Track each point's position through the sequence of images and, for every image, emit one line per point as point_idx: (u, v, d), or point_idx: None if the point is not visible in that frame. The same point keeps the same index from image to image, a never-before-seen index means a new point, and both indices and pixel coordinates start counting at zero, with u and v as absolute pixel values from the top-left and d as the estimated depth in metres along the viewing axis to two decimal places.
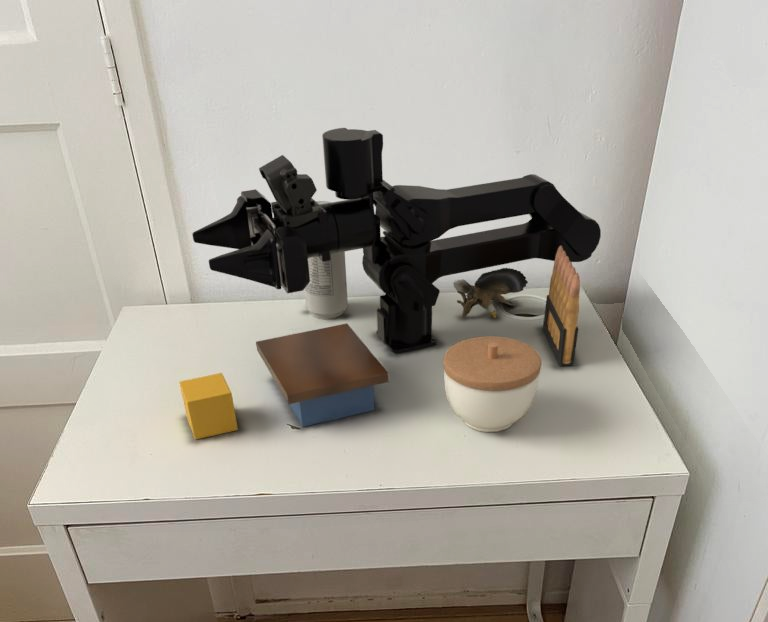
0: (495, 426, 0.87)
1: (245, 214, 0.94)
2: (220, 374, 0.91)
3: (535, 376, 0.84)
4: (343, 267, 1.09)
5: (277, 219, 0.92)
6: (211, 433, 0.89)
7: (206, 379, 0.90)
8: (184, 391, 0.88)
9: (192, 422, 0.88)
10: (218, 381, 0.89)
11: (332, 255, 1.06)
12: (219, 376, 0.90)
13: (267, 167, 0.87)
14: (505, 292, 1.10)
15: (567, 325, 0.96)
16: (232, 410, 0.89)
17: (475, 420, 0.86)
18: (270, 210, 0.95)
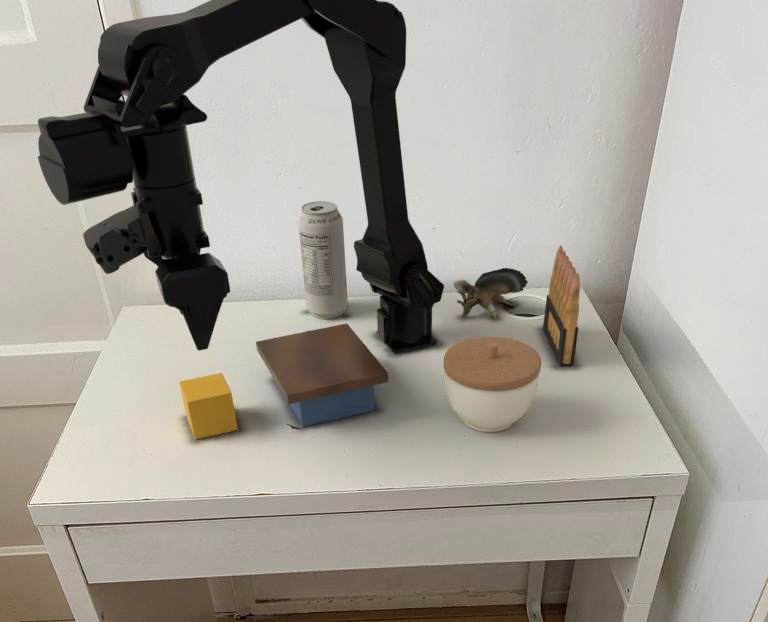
0: (495, 426, 0.87)
1: None
2: (220, 374, 0.91)
3: (535, 376, 0.84)
4: (343, 267, 1.09)
5: None
6: (211, 433, 0.89)
7: (206, 379, 0.90)
8: (184, 391, 0.88)
9: (192, 422, 0.88)
10: (218, 381, 0.89)
11: (332, 255, 1.06)
12: (219, 376, 0.90)
13: None
14: (505, 292, 1.10)
15: (567, 325, 0.96)
16: (232, 410, 0.89)
17: (475, 420, 0.86)
18: None
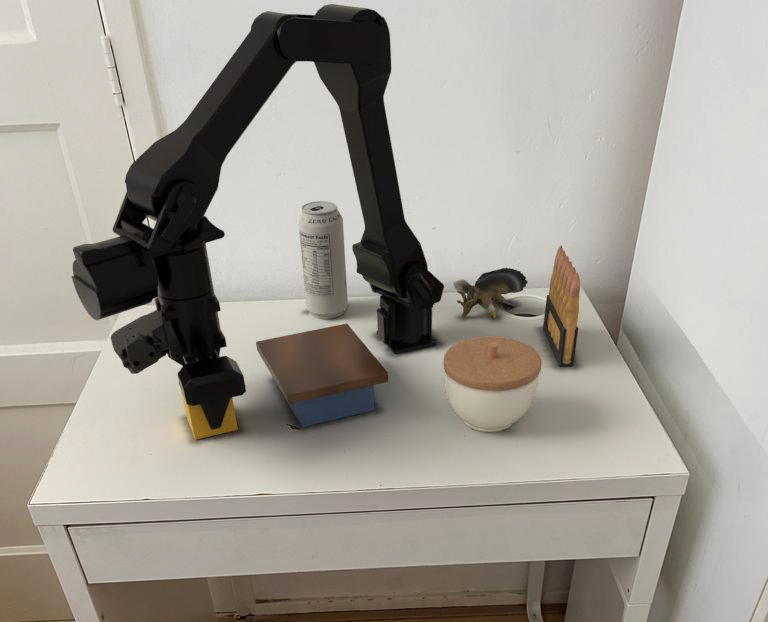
0: (495, 426, 0.87)
1: None
2: None
3: (535, 376, 0.84)
4: (343, 267, 1.09)
5: None
6: (211, 433, 0.89)
7: None
8: None
9: (192, 422, 0.88)
10: None
11: (332, 255, 1.06)
12: None
13: None
14: (505, 292, 1.10)
15: (567, 325, 0.96)
16: (232, 410, 0.89)
17: (475, 420, 0.86)
18: None
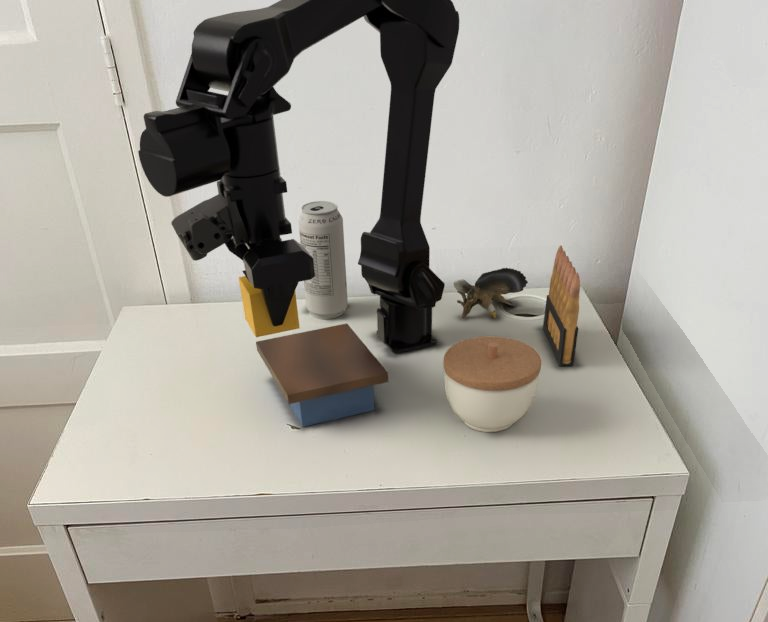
0: (495, 426, 0.87)
1: (242, 248, 0.85)
2: None
3: (535, 376, 0.84)
4: (343, 267, 1.09)
5: None
6: (273, 331, 0.86)
7: None
8: (245, 285, 0.84)
9: (253, 317, 0.84)
10: None
11: (332, 255, 1.06)
12: None
13: None
14: (505, 292, 1.10)
15: (567, 325, 0.96)
16: (294, 306, 0.85)
17: (475, 420, 0.86)
18: None
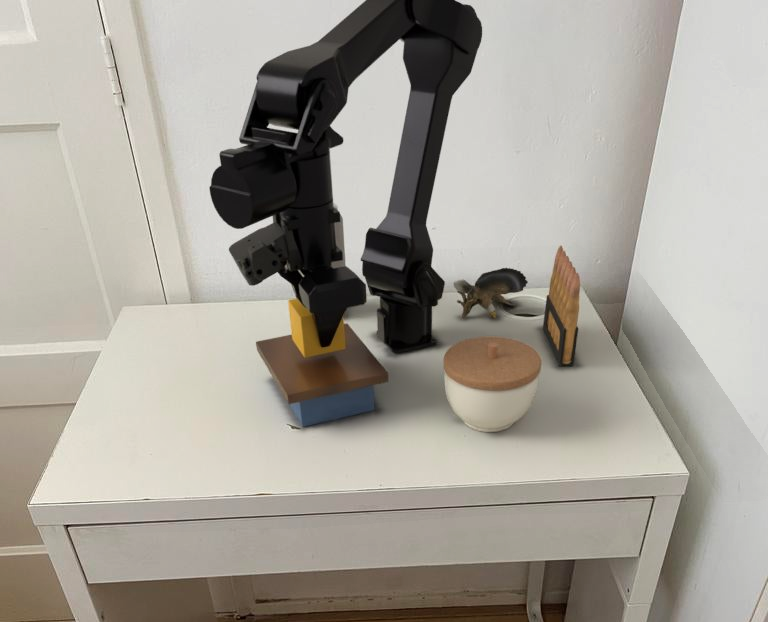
0: (495, 426, 0.87)
1: (291, 273, 0.89)
2: None
3: (535, 376, 0.84)
4: None
5: None
6: (320, 352, 0.90)
7: None
8: (295, 308, 0.88)
9: (303, 339, 0.88)
10: None
11: None
12: None
13: (241, 272, 0.84)
14: (505, 292, 1.10)
15: (567, 325, 0.96)
16: (342, 328, 0.89)
17: (475, 420, 0.86)
18: None
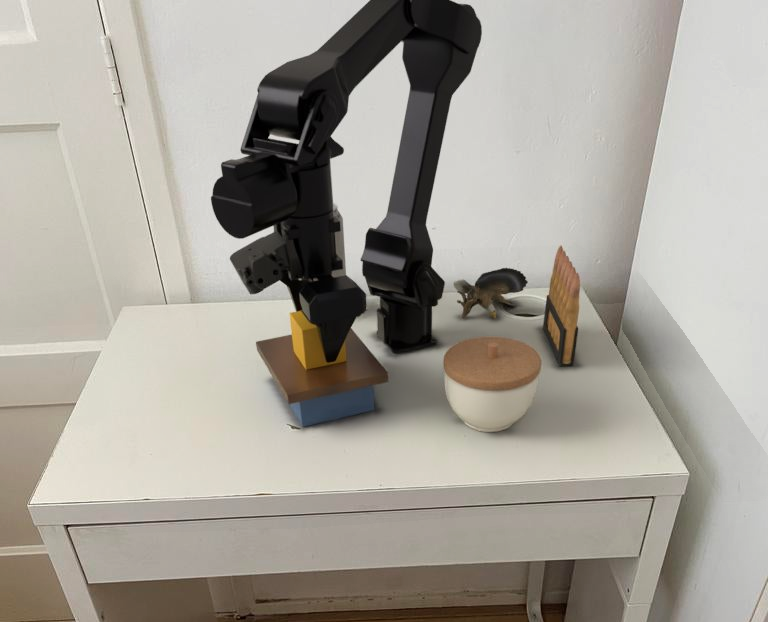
0: (495, 426, 0.87)
1: (287, 275, 0.91)
2: None
3: (535, 376, 0.84)
4: (343, 267, 1.09)
5: None
6: (321, 364, 0.91)
7: None
8: (297, 321, 0.89)
9: (305, 351, 0.89)
10: None
11: None
12: None
13: (242, 281, 0.84)
14: (505, 292, 1.10)
15: (567, 325, 0.96)
16: None
17: (475, 420, 0.86)
18: None
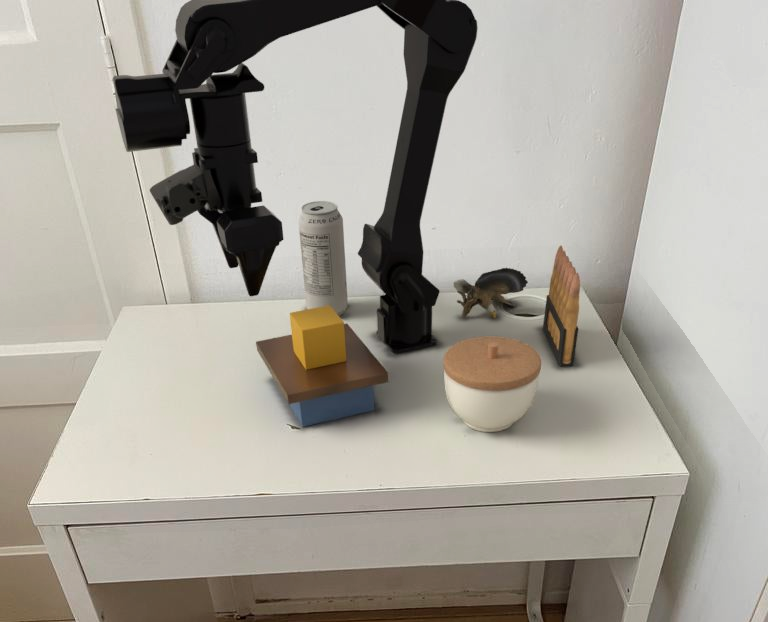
0: (495, 426, 0.87)
1: (211, 212, 0.92)
2: (329, 306, 0.92)
3: (535, 376, 0.84)
4: (343, 267, 1.09)
5: None
6: (321, 364, 0.91)
7: (316, 310, 0.91)
8: (297, 321, 0.89)
9: (305, 351, 0.89)
10: (328, 312, 0.90)
11: (332, 255, 1.06)
12: (328, 308, 0.91)
13: None
14: (505, 292, 1.10)
15: (567, 325, 0.96)
16: (343, 340, 0.90)
17: (475, 420, 0.86)
18: None
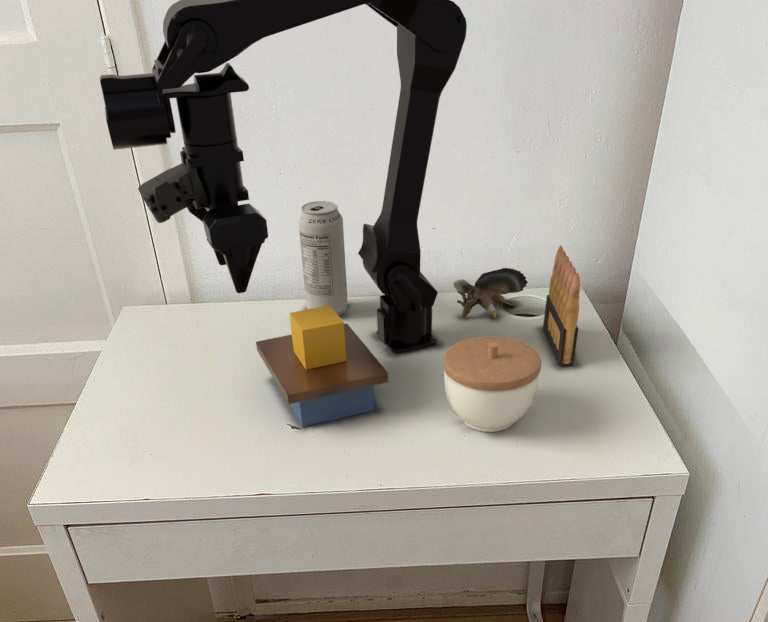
0: (495, 426, 0.87)
1: (201, 210, 0.94)
2: (329, 306, 0.92)
3: (535, 376, 0.84)
4: (343, 267, 1.09)
5: None
6: (321, 364, 0.91)
7: (316, 310, 0.91)
8: (297, 321, 0.89)
9: (305, 351, 0.89)
10: (328, 312, 0.90)
11: (332, 255, 1.06)
12: (328, 308, 0.91)
13: None
14: (505, 292, 1.10)
15: (567, 325, 0.96)
16: (343, 340, 0.90)
17: (475, 420, 0.86)
18: None
